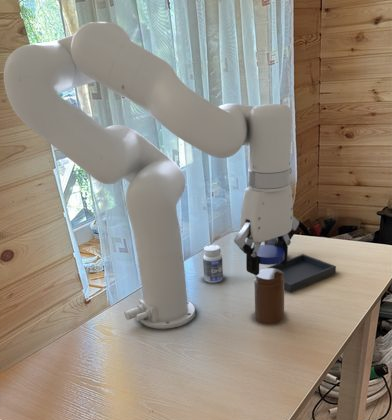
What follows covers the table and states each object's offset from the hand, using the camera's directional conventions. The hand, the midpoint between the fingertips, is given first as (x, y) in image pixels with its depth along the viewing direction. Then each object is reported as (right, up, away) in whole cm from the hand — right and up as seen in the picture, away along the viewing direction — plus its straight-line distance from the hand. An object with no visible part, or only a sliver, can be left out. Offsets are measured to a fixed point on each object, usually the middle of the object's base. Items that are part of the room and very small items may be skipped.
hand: (266, 267), depth 105 cm
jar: (+1, -10, +6) cm, 12 cm away
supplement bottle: (+7, +8, +33) cm, 35 cm away
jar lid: (0, +3, -2) cm, 3 cm away
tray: (+11, +1, +23) cm, 25 cm away
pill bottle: (-10, +1, +25) cm, 27 cm away
